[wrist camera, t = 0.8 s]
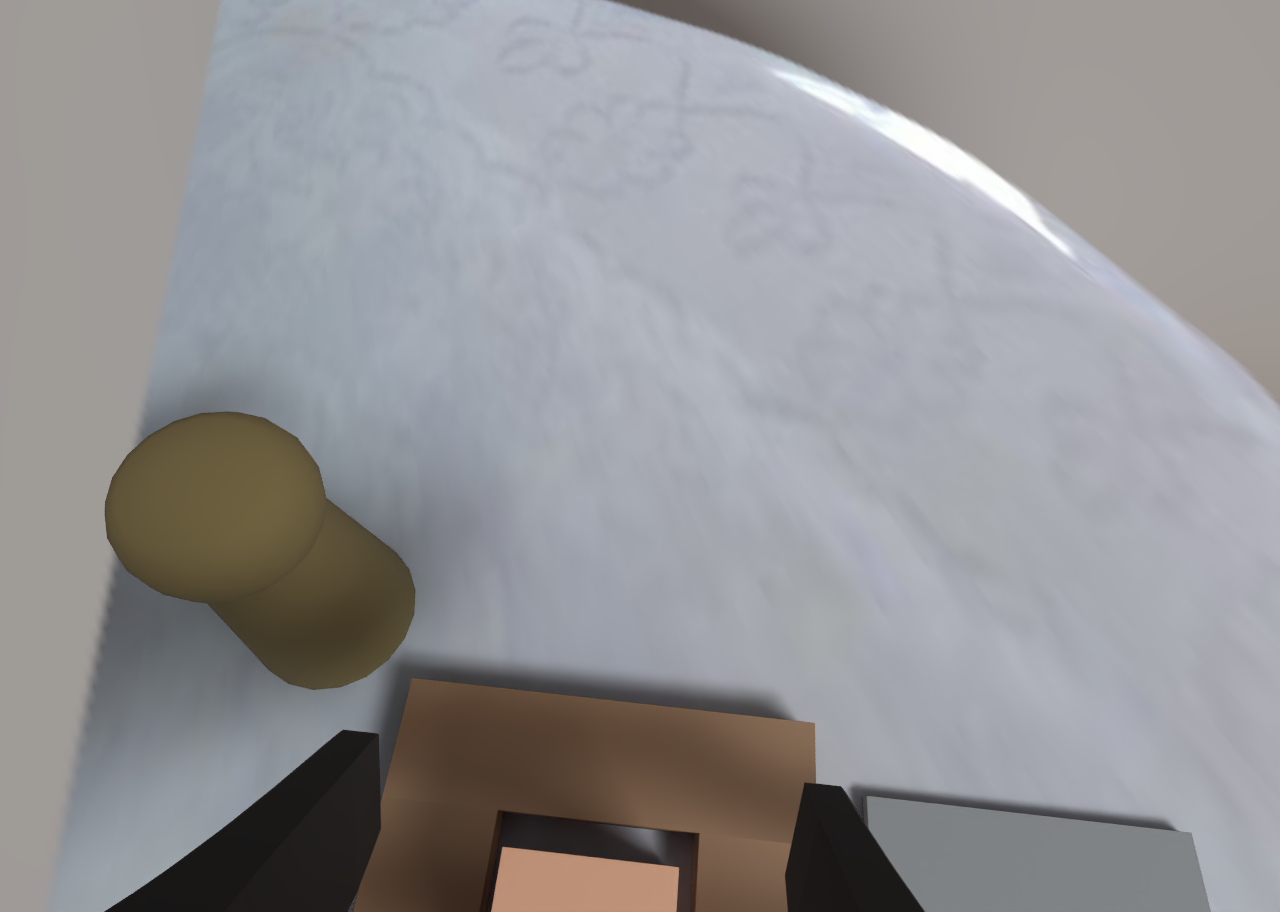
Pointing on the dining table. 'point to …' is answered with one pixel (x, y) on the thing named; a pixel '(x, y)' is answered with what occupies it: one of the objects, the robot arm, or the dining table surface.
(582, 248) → the dining table surface
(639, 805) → the holder
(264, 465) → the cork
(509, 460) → the dining table surface
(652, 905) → the block
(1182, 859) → the mat
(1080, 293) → the dining table surface
